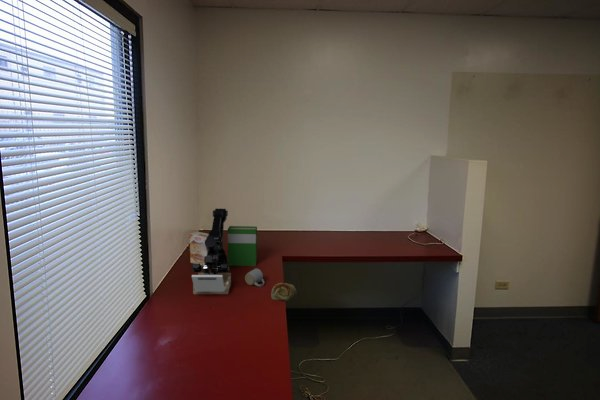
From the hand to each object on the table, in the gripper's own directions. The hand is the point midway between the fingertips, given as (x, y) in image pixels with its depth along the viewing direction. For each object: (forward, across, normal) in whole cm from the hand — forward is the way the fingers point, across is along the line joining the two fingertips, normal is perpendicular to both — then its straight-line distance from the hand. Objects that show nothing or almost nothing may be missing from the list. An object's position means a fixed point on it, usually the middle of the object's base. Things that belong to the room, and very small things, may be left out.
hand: (208, 283), depth 187 cm
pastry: (+5, +39, +6) cm, 40 cm away
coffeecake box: (-29, -13, +40) cm, 51 cm away
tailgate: (+2, 0, +5) cm, 6 cm away
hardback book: (-28, +13, +39) cm, 50 cm away
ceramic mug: (-6, +23, +17) cm, 29 cm away
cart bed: (-2, 0, +13) cm, 13 cm away
